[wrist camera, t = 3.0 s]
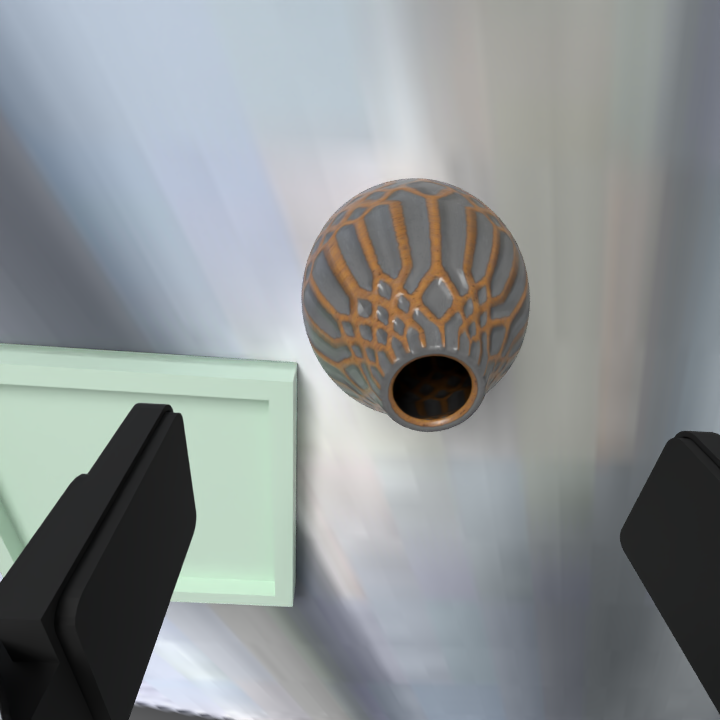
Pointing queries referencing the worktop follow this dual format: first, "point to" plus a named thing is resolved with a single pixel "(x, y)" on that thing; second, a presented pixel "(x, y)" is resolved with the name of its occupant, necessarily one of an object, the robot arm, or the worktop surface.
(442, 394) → the vase
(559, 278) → the worktop surface
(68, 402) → the tray
